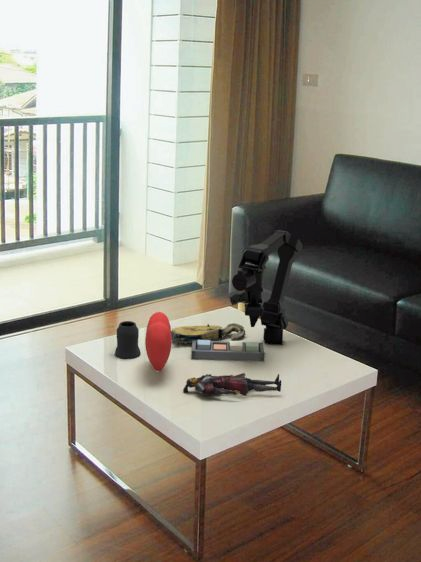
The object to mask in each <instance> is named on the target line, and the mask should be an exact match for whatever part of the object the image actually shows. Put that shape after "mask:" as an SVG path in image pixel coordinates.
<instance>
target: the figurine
mask: <svg viewBox="0 0 421 562" xmlns="http://www.w3.org/2000/svg"><path fill="white" fill-rule="evenodd" d="M185 383H186V384H185V385H184V388H183V389H182V391H183V392H184V393H186V394H187V393H189V389H191V388H194V390H195V391H196V392H198V393H200V394H202V395H205V396H207V397H208V396H211V397H212V396H213V395H216V396H218V395H234V396H236V395H238V394H239V395H241V396H244V397H247V396H248V393H249V392H250V391H257V392H260V393H261V392H267V391H278V392H281V391H282V379H280V374H279V373H278V374H277V376H276V378H275V380H274V381H272V380H265V379H264V380H263V379H251V378H248V377H246V373H245V372H241V373H239V374H236V375H233V374H229V375H218V376H217V375H212V374H210V373H209V374H206V375H205V374H203V375H201V376H200V377H189V378H188V379H187V380H186V382H185ZM270 385H271V386H270ZM272 385H276V386H272Z"/></svg>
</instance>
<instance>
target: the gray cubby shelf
mask: <svg viewBox="0 0 421 562" xmlns="http://www.w3.org/2000/svg"><path fill="white" fill-rule="evenodd" d="M191 343H192V344H191V355H190V356H191V359H190V360H204V361H205V360H207V361H233V362H236V361H238V362H239V361H240V362H263V363H265V356H266V355H265V347H264V343H263V342H258V344H259V352H246V349H245V345H246V341H244V342H243V341H242V344H243V348H242V351H230V348H229V347H230V341H223V340H214V341H210V350H197V344H198V341H197V340H193V342H191ZM214 344H221V345H226V351H215V350H213V349H214Z"/></svg>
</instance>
